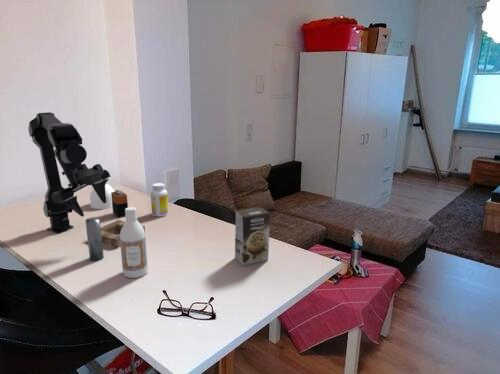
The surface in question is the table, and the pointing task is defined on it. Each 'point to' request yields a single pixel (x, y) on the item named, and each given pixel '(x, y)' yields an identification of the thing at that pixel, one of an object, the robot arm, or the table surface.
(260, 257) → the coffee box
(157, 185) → the supplement bottle
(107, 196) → the teardrop
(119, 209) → the battery
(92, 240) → the grey metal cylinder
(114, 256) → the table surface
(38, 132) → the robot arm
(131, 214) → the bath foam
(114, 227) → the holder block
